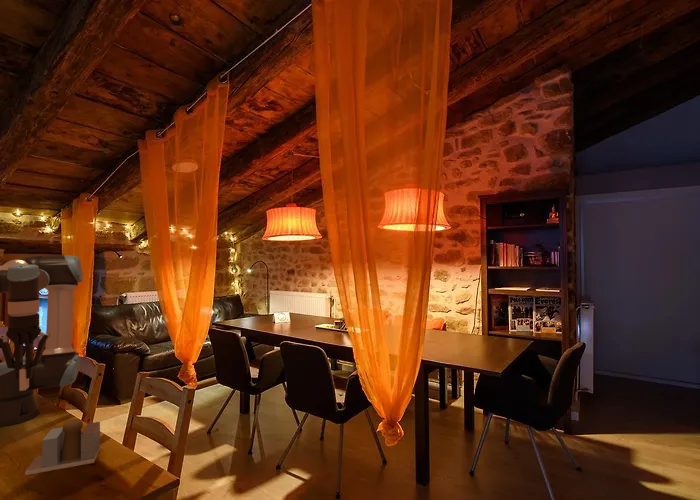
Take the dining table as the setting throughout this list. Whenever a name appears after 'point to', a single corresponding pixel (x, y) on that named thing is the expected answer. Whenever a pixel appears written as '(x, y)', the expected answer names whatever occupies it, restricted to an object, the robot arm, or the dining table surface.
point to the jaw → (52, 447)
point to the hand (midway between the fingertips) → (24, 388)
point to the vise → (88, 452)
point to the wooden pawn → (72, 440)
